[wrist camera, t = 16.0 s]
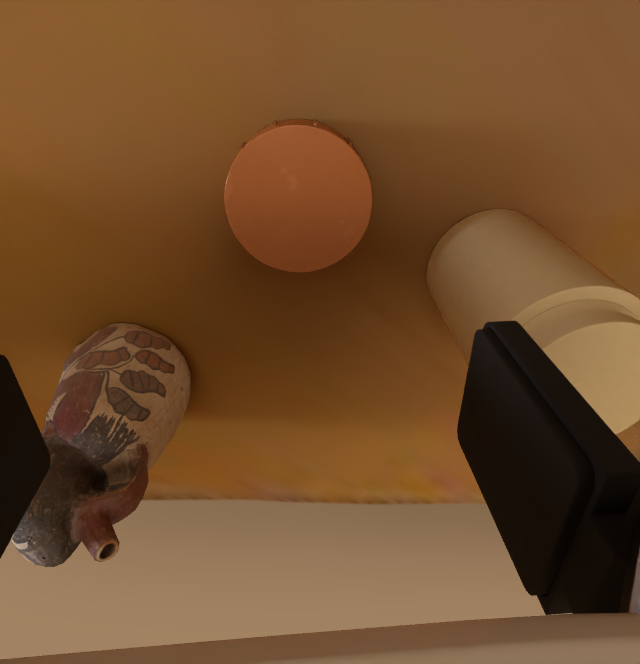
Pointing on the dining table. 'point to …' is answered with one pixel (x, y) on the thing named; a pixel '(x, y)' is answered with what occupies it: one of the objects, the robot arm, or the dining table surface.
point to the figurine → (103, 440)
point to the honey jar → (542, 305)
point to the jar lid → (298, 196)
